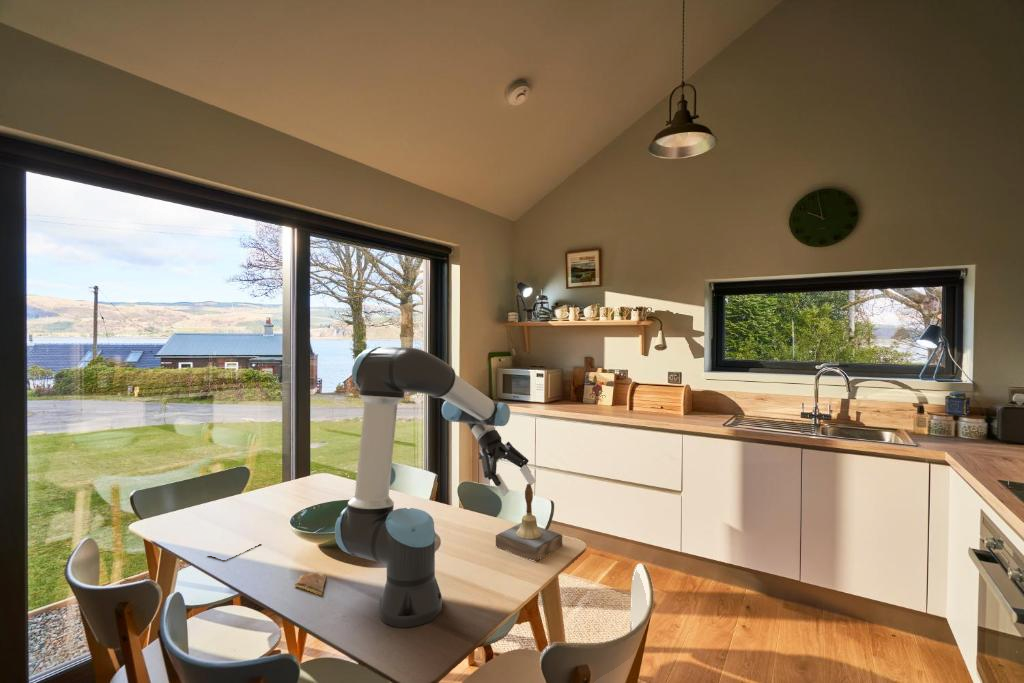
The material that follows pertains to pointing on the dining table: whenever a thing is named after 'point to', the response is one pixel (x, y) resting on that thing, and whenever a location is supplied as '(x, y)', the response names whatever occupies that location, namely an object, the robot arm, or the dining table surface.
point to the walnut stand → (529, 543)
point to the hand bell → (529, 519)
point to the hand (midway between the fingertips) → (520, 488)
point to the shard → (312, 582)
